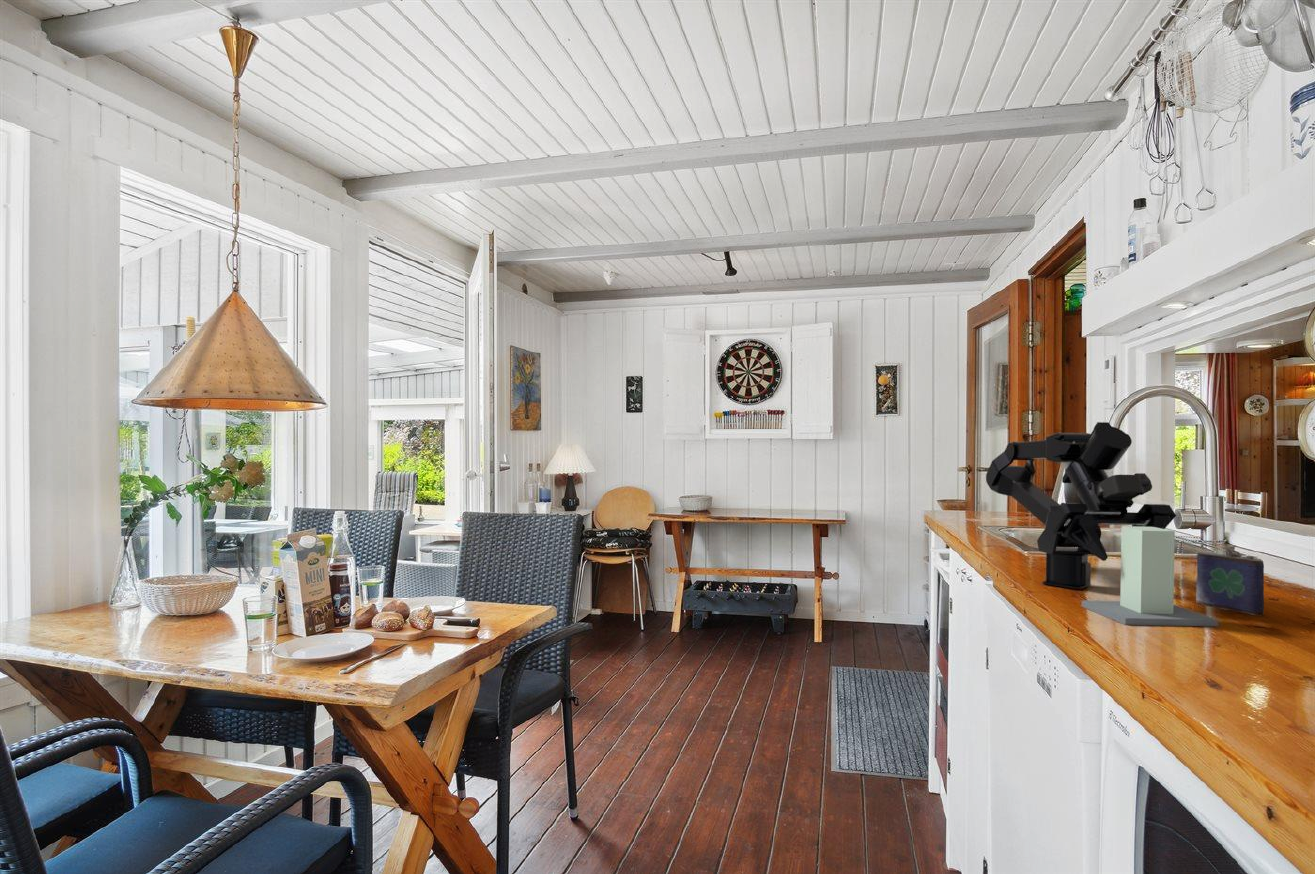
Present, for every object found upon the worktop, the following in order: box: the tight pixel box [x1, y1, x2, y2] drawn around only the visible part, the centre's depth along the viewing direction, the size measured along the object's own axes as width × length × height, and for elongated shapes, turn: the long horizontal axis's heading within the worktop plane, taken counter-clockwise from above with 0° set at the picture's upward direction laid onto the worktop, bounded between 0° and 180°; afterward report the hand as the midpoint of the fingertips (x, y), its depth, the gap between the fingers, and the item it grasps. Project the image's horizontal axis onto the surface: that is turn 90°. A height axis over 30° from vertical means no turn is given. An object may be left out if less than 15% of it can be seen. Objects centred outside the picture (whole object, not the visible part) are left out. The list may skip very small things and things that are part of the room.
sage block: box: [1119, 525, 1176, 614], centre depth 110 cm, size 5×5×13 cm
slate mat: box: [1081, 600, 1219, 627], centre depth 110 cm, size 11×14×1 cm
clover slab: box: [1195, 544, 1265, 617], centre depth 115 cm, size 9×3×11 cm, turn 28°
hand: (1133, 559), depth 113 cm, fingers open, 9 cm apart
